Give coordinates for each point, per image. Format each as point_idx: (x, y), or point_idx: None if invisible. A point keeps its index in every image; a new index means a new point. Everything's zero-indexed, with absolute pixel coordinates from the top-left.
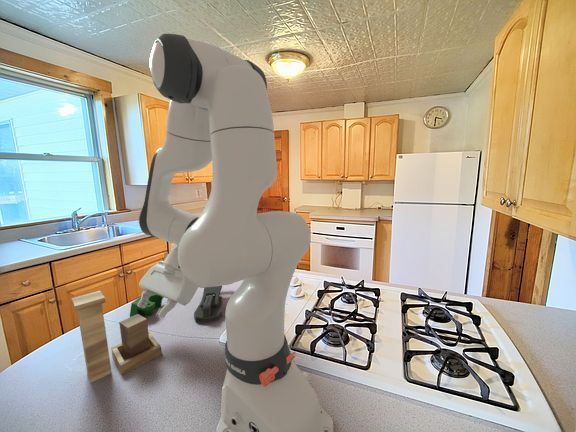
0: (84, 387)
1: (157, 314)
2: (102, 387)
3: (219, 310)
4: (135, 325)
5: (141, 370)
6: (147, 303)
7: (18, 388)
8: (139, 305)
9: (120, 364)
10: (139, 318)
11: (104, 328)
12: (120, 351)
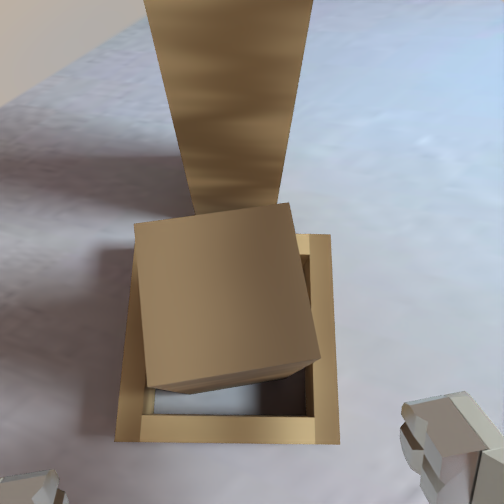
0: None
1: (20, 478)
2: (137, 180)
3: None
4: (140, 284)
5: (102, 317)
6: (430, 499)
7: (368, 6)
8: (422, 403)
9: None
10: (214, 339)
11: (158, 57)
12: (305, 277)
